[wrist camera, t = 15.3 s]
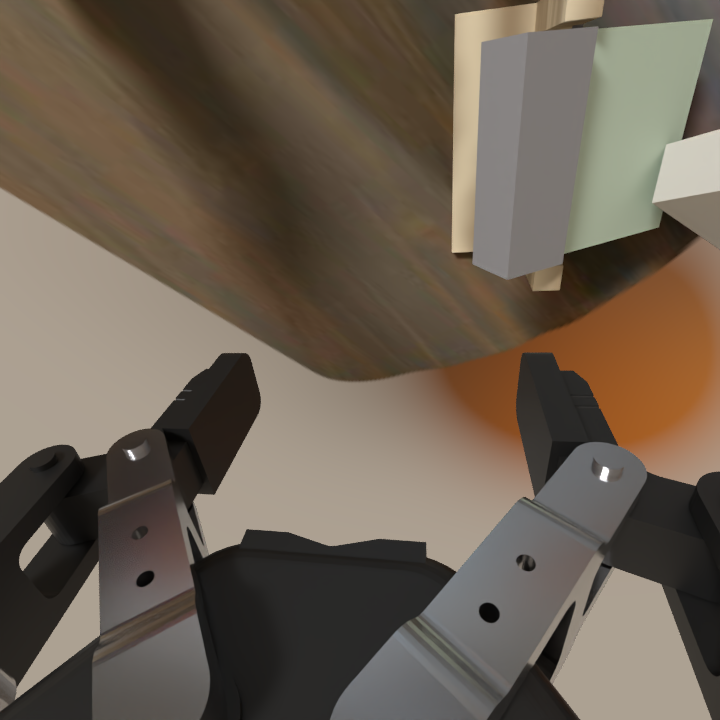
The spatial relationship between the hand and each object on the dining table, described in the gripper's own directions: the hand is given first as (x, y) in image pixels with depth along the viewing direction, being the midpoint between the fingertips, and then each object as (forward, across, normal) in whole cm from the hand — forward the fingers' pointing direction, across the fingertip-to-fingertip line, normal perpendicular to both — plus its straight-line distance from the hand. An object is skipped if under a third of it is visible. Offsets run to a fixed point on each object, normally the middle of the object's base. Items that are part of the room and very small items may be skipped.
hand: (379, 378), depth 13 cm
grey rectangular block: (+26, -20, 0) cm, 33 cm away
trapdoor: (+27, -11, -2) cm, 30 cm away
